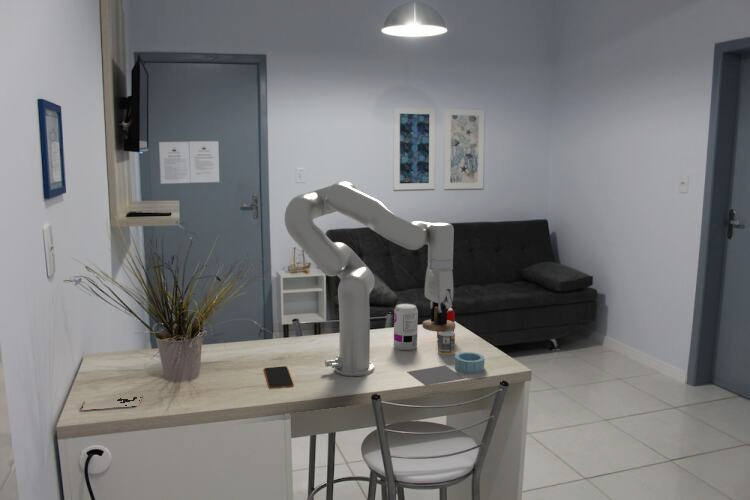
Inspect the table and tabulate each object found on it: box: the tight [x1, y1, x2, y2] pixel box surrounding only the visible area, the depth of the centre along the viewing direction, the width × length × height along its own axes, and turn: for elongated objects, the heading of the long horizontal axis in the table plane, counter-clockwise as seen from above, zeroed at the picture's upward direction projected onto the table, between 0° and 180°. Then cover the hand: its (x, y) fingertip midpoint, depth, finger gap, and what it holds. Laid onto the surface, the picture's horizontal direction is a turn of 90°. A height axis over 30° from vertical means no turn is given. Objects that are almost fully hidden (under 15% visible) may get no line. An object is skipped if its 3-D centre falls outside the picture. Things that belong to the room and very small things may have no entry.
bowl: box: [454, 351, 485, 374], centre depth 200 cm, size 9×9×4 cm
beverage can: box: [436, 307, 456, 339], centre depth 228 cm, size 6×6×12 cm
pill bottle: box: [437, 330, 456, 356], centre depth 214 cm, size 6×6×10 cm
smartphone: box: [263, 365, 295, 389], centre depth 191 cm, size 8×17×1 cm, turn 15°
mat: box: [406, 365, 466, 387], centre depth 194 cm, size 14×12×1 cm
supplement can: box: [393, 303, 419, 351], centre depth 219 cm, size 8×8×15 cm
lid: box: [422, 307, 456, 333], centre depth 191 cm, size 10×10×6 cm
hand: (438, 322), depth 191 cm, fingers closed on lid, 3 cm apart
